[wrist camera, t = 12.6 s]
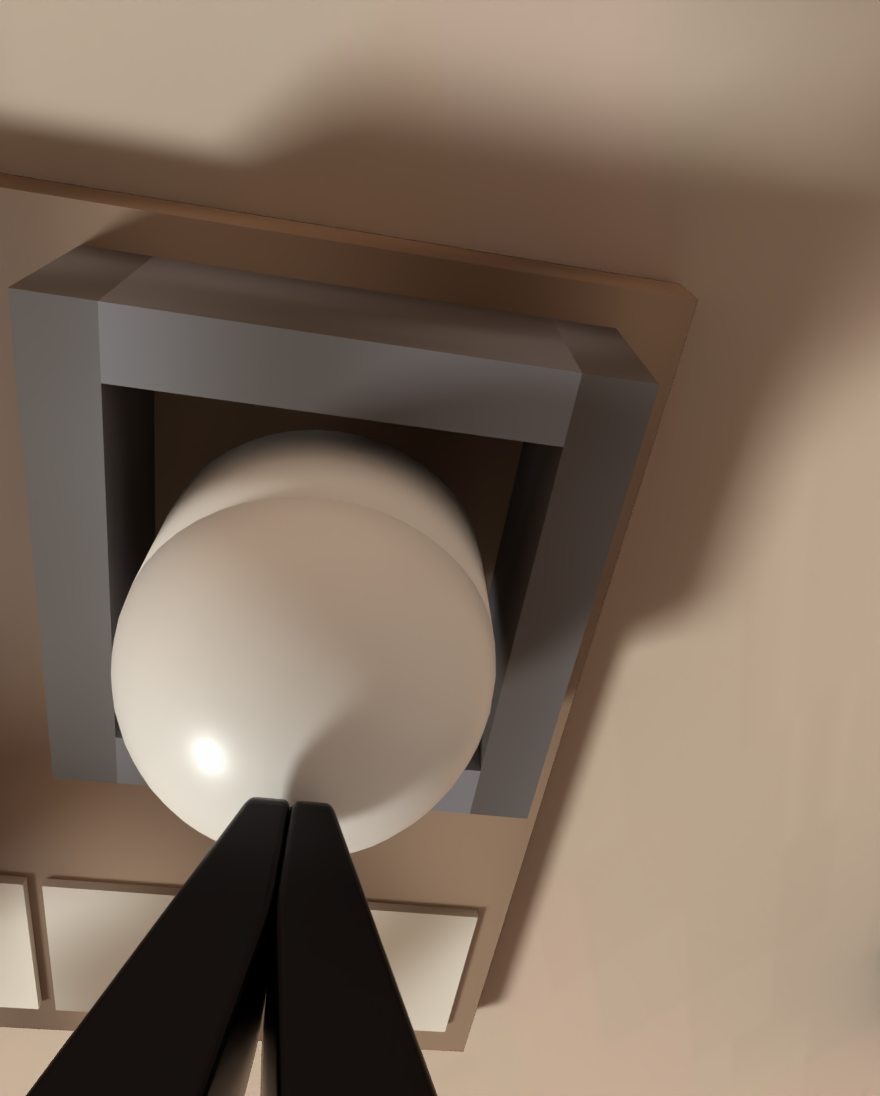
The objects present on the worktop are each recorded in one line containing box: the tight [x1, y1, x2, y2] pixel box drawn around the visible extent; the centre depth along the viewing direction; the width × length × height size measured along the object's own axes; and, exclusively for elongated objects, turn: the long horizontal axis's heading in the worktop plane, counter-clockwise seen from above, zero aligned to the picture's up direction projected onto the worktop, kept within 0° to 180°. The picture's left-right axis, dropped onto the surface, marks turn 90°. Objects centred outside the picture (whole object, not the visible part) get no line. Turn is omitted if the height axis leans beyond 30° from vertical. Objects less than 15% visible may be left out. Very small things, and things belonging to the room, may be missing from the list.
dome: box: [111, 430, 496, 853], centre depth 11 cm, size 5×5×5 cm
